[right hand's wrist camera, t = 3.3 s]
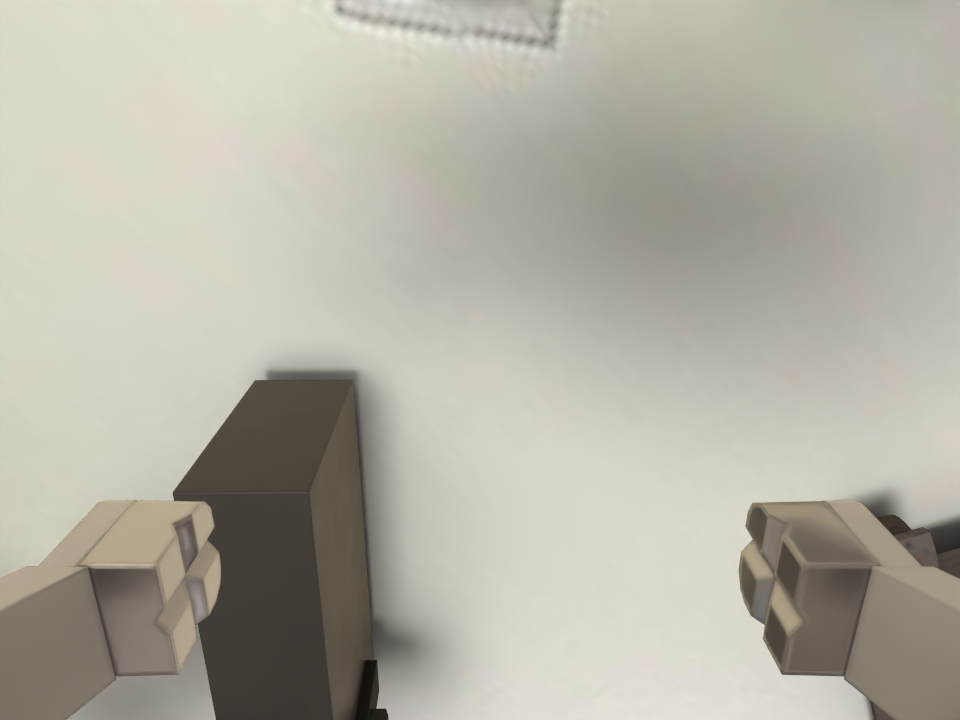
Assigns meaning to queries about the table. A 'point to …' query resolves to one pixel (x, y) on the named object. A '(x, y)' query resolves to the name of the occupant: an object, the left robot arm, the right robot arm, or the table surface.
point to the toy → (926, 555)
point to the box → (286, 554)
